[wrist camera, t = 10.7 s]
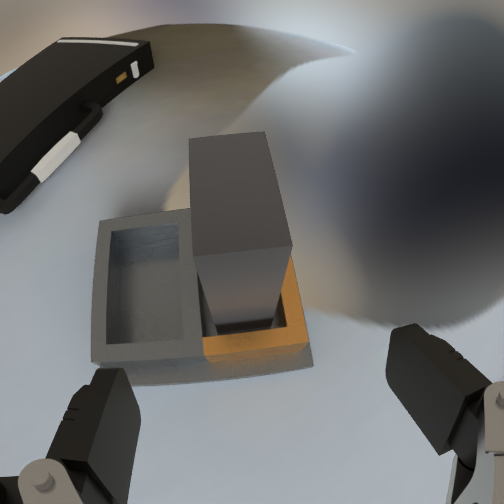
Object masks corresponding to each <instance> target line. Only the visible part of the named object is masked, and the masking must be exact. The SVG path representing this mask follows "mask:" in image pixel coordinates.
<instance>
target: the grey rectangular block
mask: <svg viewBox="0 0 504 504" xmlns="http://www.w3.org/2000/svg"><path fill="white" fill-rule="evenodd" d="M189 172H190V173H189V176H190V206H191V230H192V249H193V259H194V262H195V265H196V268H197V272H198V275H199V278H200V281H201V284H202V288H203V291H204V294H205V297H206V300H207V303H208V306H209V309H210V312H211V315H212V318H213V321H214V324H215V327H216V330H217V333H222V332H230V331H239V330H247V329H255V328H262V327H270V326H272V322H273V319H274V315H275V311H276V308H277V304H278V300H279V296H280V293H281V289H282V285H283V281H284V277H285V273H286V270H287V266H288V262H289V258H290V254H291V250H292V246H293V245H292V241H291V236H290V232H289V228H288V223H287V219H286V215H285V211H284V207H283V202H282V198H281V195H280V190H279V186H278V182H277V178H276V174H275V170H274V166H273V162H272V158H271V154H270V151H269V147H268V143H267V139H266V135H265V132H252V133H240V134H229V135H218V136H209V137H200V138H192V139H189Z"/></svg>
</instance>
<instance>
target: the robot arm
mask: <svg viewBox="0 0 504 504" xmlns="http://www.w3.org/2000/svg"><path fill="white" fill-rule="evenodd" d="M386 379H387V382H388V385H389V386H390V388H391V389H392V391H393V392H394V393H395V395H396V396H397V398H398V399H399V400H400V402H401V403H402V404H403V406H404V407H405V409H406V410H407V411H408V413H409V414H410V415H411V417H412V418H413V420H414V421H415V422H416V424H417V425H418V427H419V428H420V429H421V431H422V432H423V434H424V435H425V436H426V438H427V439H428V441H429V442H430V443H431V445H432V446H433V448H434V449H435V451H436V452H437V453H438V455H439V456H440V455H442V454H444V453H446V452H448V451H450V450H452V449H453V450H454V452H455V453H456V454H455V456H454V458H453V463H452V470H451V476H450V483H449V488H448V494H447V499H446V504H504V381H500V382H495V383H492V382H491V381H489V380H488V379H487V378H486V377H485V376H484V375H483V374H482V373H481V372H480V371H479V370H478V369H476V368H475V367H474V366H473V365H472V364H471V363H470V362H469V361H468V360H467V359H464V358H463V356H462V355H461V354H460V353H459V352H458V351H455V349H454V348H453V347H452V346H451V345H450V344H448V343H447V342H446V341H445V340H443V339H440V338H438V337H436V336H434V335H432V334H431V335H429V334H428V333H427V332H426V331H425V330H424V329H423V328H421V327H420V326H419V325H418V324H415V323H414V324H410V325H407V326H403V327H399V328H395V329H393V330H392V332H391V336H390V343H389V350H388V357H387V363H386ZM67 409H68V411H66V412H65V414H64V416H63V421H61V423H60V425H59V427H58V430H57V432H56V434H55V437H54V439H53V441H52V444H51V446H50V448H49V451H48V453H47V456H46V458H45V459H38V460H35V461H33V462H31V463H29V464H28V465H27V466H26V467H24V469H23V470H22V471H21V473H20V475H19V476H12V477H0V504H127V500H128V494H129V487H130V481H131V475H132V469H133V463H134V457H135V452H136V446H137V441H138V436H139V431H140V425H141V415H140V409H139V406H138V403H137V401H136V398H135V396H134V393H133V390H132V388H131V385H130V382H129V380H128V377H127V374H126V372H125V370H124V369H123V368H98V369H97V370H96V372H95V374H94V376H93V379H92V381H91V383H90V385H84V386H83V387H81V388H80V389H79V390H78V391H77V392H76V393H75V394H74V395H73V397H72V399H71V401H70V403H69V405H68V408H67Z"/></svg>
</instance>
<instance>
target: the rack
mask: <svg viewBox="0 0 504 504" xmlns="http://www.w3.org/2000/svg"><path fill="white" fill-rule="evenodd" d="M91 362H92V363H94V364H97V365H99V366H100V368H123V369H124V370H125V372H126V374H127V377H128V380H129V382H130V385H131V386H157V385H175V384H189V383H201V382H212V381H222V380H231V379H239V378H247V377H255V376H262V375H269V374H276V373H282V372H288V371H294V370H300V369H306V368H311V367H313V366H314V364H313V359H312V354H311V348H310V343H309V338H308V333H307V328H306V323H305V318H304V313H303V308H302V304H301V299H300V294H299V289H298V284H297V281H296V275H295V270H294V266H293V261H292V257H291V254H290V258H289V262H288V266H287V270H286V273H285V277H284V281H283V285H282V289H281V293H280V296H279V300H278V304H277V308H276V311H275V315H274V319H273V322H272V326H270V327H262V328H255V329H247V330H239V331H230V332H222V333H217V330H216V327H215V324H214V321H213V318H212V315H211V312H210V309H209V306H208V303H207V300H206V297H205V294H204V291H203V288H202V284H201V281H200V278H199V275H198V272H197V268H196V265H195V262H194V259H193V249H192V230H191V208H187V209H180V210H172V211H164V212H157V213H149V214H142V215H135V216H128V217H121V218H115V219H108V220H102V221H100V222H99V229H98V237H97V246H96V256H95V266H94V278H93V293H92V314H91Z"/></svg>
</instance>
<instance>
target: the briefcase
mask: <svg viewBox="0 0 504 504" xmlns="http://www.w3.org/2000/svg"><path fill="white" fill-rule="evenodd" d="M153 68H154V64H153V58H152V52H151V47H150V41H142V40H130V39H115V38H89V37H87V38H86V37H68V38H66V37H65V38H61V39H59V40H58V41H56V42H54V43H53V44H51V45H50V46H48V47H47V48H45V49H44V50H42V51H41V52H40V53H39V54H37V55H35V56H34V57H33V58H31V59H30V60H28V61H27V62H26V63H24V64H23V65H22V66H20V67H19V68H18V69H17V70H15V71H14V72H13V73H11V74H10V75H9V76H8V77H6V78H5V79H4V80H3V81H2V82H0V213H2V214H9V213H10V212H12V211H13V210H14V209H15V208H16V207H18V206H19V205H20V204H21V203H22V201H23V200H24V199H25V198H26V197H27V196H28V195H29V194H30V193H31V192H32V191H33V190H34V188H35V187H36V186H37V185H38V184H39V183H40V182H41V183H42V182H43V181H44V180H45V179H46V178H47V177H48V176H49V175H50V174H51V173H52V172H53V171H54V170H55V169H56V168H57V167H58V166H59V165H60V164H61V163H62V162H63V161H64V160H65V159H66V158H67V157H68V156H69V155H70V154H71V153H72V152H73V150H74V149H75V148H76V147H77V146H78V145H79V144H80V143H81V140H82V139H83V138H84V136H85V135H86V134H87V133H88V132H89V131H90V130H91V129H92V128H93V127H94V126H95V125H96V124H97V123H98V122H99V120H100V119H101V118H102V115H103V112H102V109H101V108H103V107H104V106H105V105H106V104H107V103H109V102H110V101H111V100H112V99H114V98H115V97H116V96H117V95H119V94H120V93H121V92H122V91H124V90H125V89H126V88H127V87H129V86H130V85H131V84H133V83H134V82H135V81H137V80H138V79H139V78H141V77H142V76H144V75H145V74H146V73H148V72H149V71H150V70H152V69H153Z"/></svg>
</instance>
